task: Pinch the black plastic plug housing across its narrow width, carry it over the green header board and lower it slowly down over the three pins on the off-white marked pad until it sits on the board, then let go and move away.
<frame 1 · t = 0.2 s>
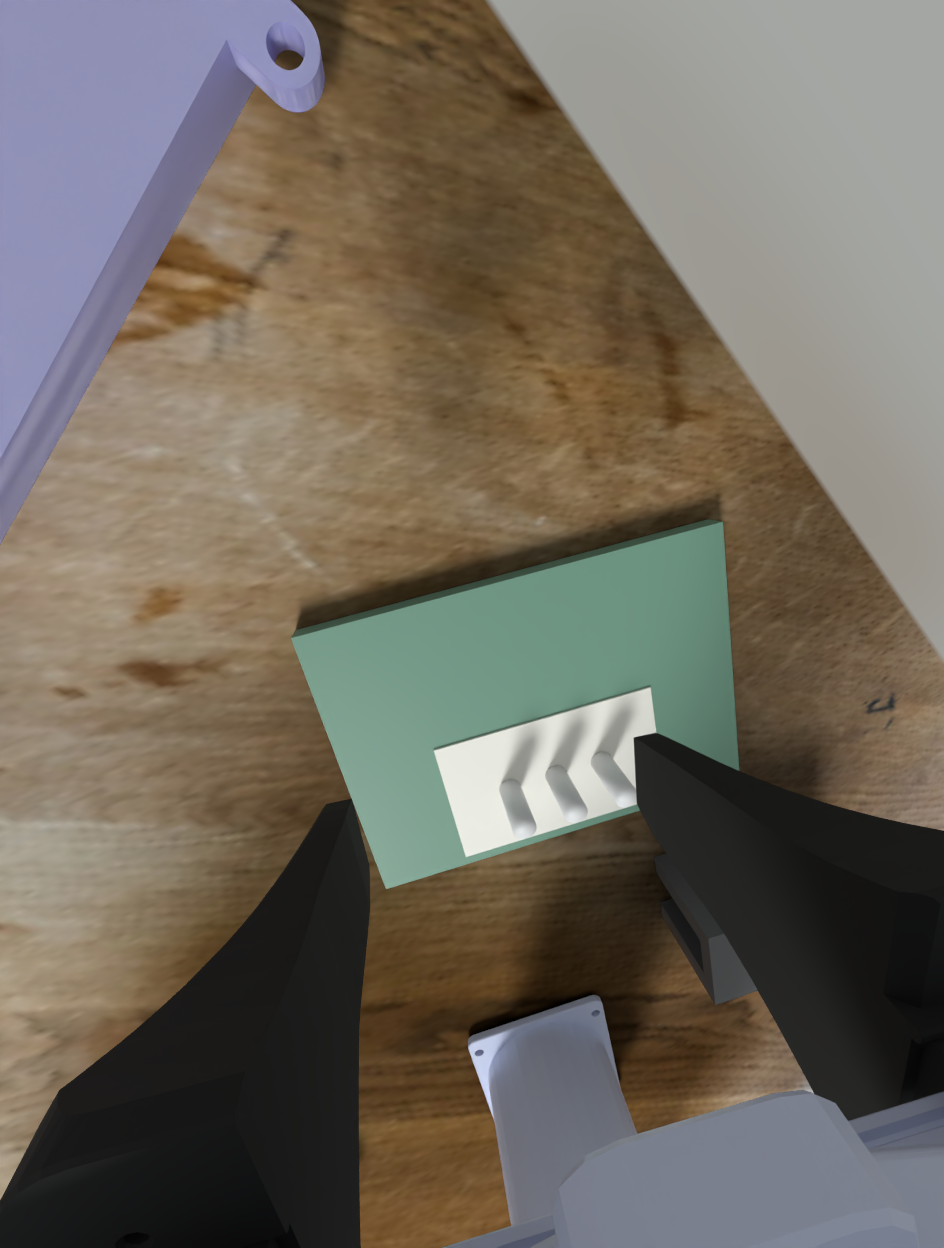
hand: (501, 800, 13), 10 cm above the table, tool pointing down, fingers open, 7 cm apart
header board: (548, 761, 24), on the table
plug housing: (716, 868, 28), on the table
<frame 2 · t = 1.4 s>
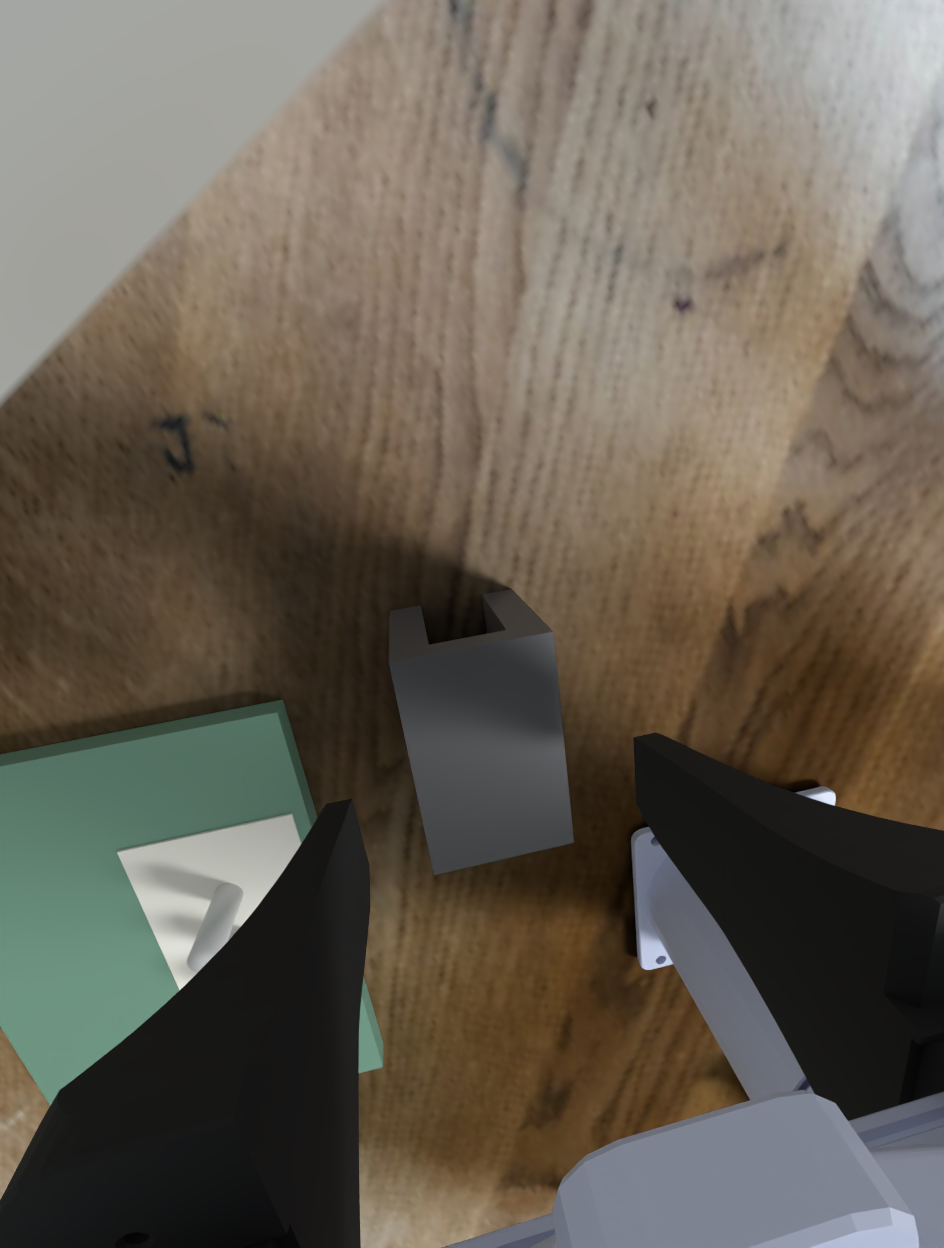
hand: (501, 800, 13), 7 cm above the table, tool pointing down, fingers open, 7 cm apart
header board: (253, 914, 21), on the table
plug housing: (465, 688, 19), on the table
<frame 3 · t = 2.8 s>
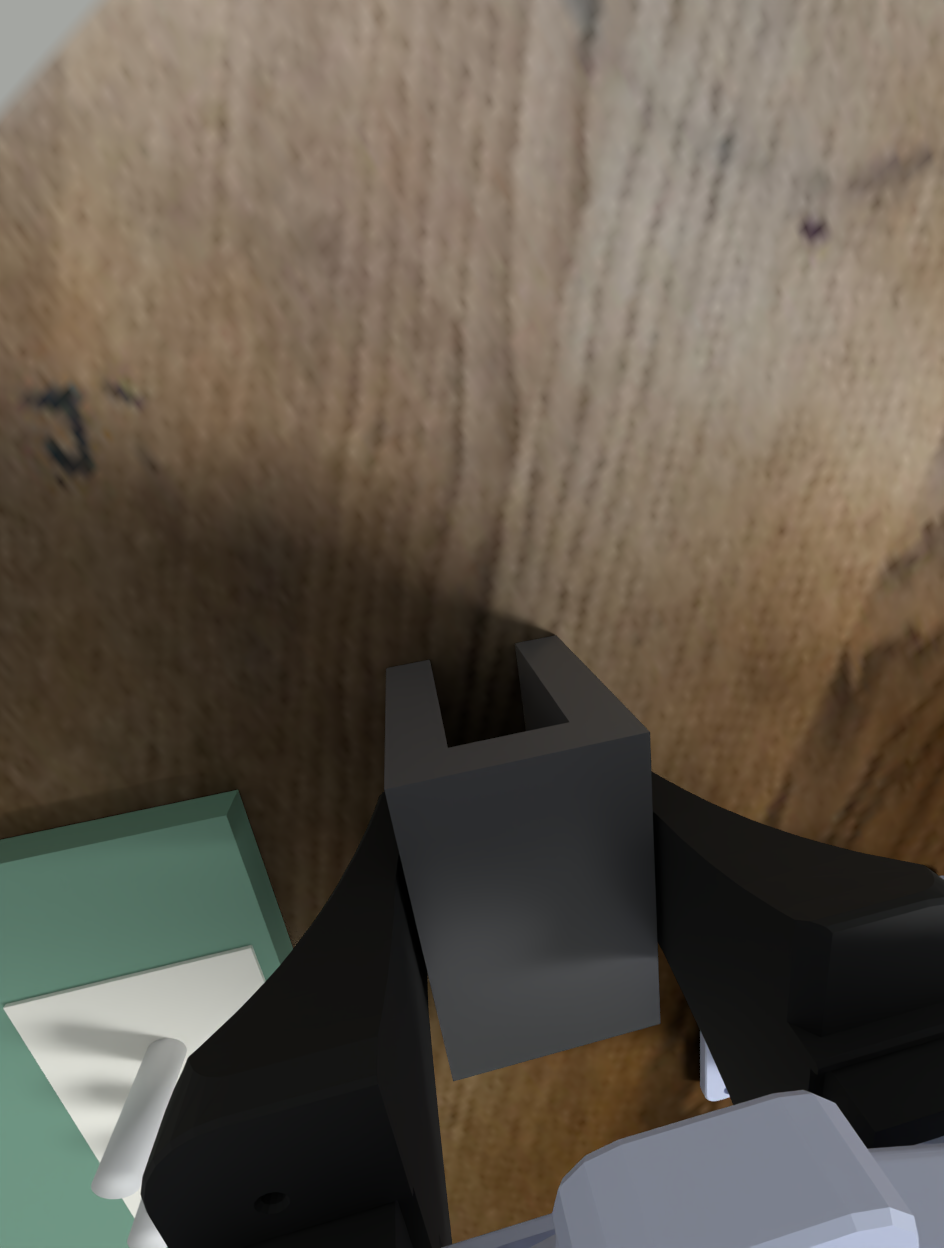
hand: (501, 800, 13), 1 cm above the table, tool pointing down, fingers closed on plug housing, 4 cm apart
header board: (205, 1060, 16), on the table
plug housing: (490, 768, 14), on the table, touching gripper
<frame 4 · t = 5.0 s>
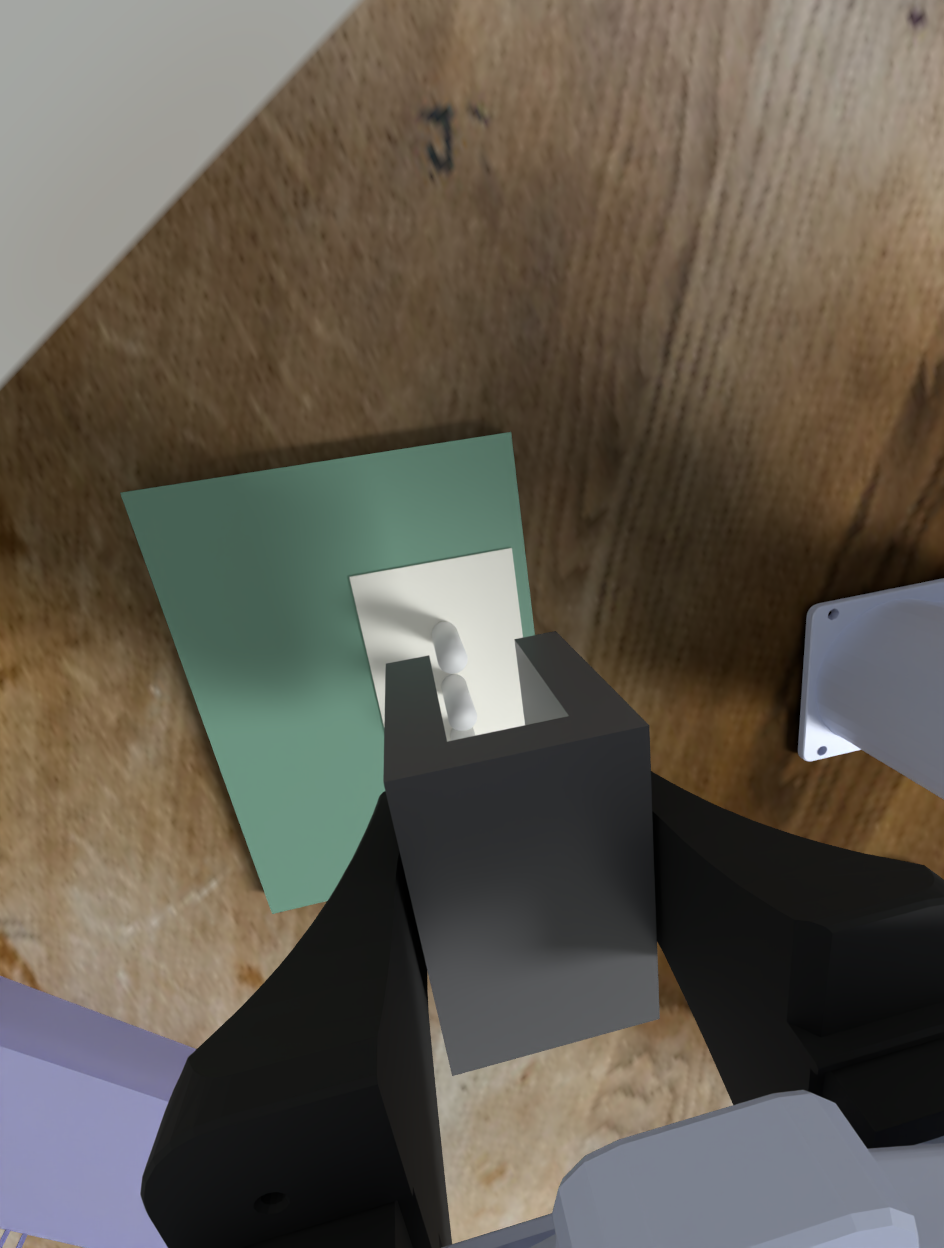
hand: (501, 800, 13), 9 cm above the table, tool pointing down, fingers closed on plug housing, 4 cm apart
header board: (450, 674, 21), on the table
plug housing: (490, 764, 14), point 7 cm above the table, touching gripper
computer part: (78, 1083, 25), on the table
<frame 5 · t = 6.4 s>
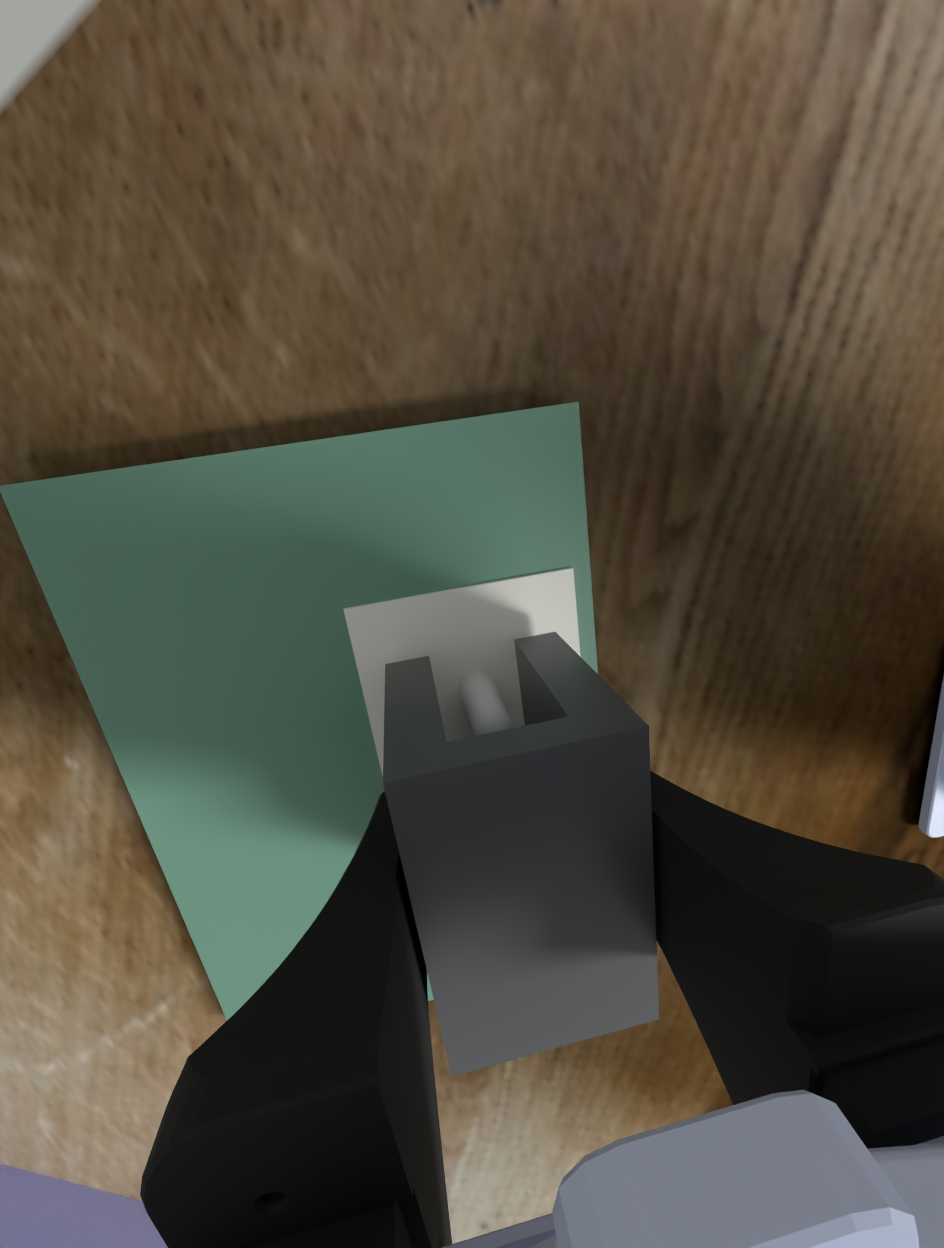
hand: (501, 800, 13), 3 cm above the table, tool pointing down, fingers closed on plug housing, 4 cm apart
header board: (480, 736, 16), on the table
plug housing: (489, 765, 14), point 2 cm above the table, touching gripper
when the fingers open (3 cm above the table, at t = 7.4 s): plug housing stays where it is, resting on header board.
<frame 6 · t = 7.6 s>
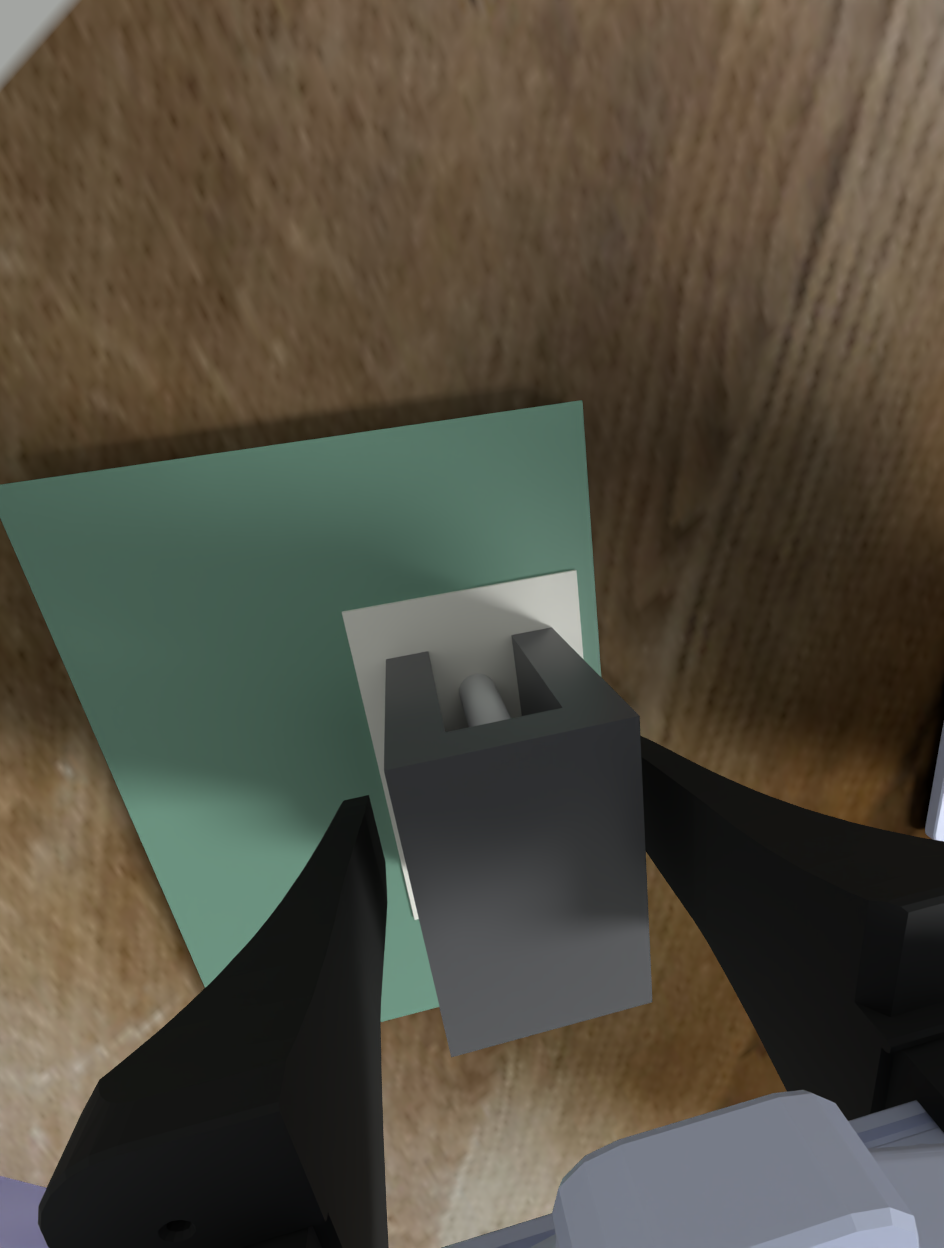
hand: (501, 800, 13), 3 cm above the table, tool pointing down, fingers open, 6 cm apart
header board: (481, 740, 15), on the table
plug housing: (488, 758, 14), point 1 cm above the table, touching header board
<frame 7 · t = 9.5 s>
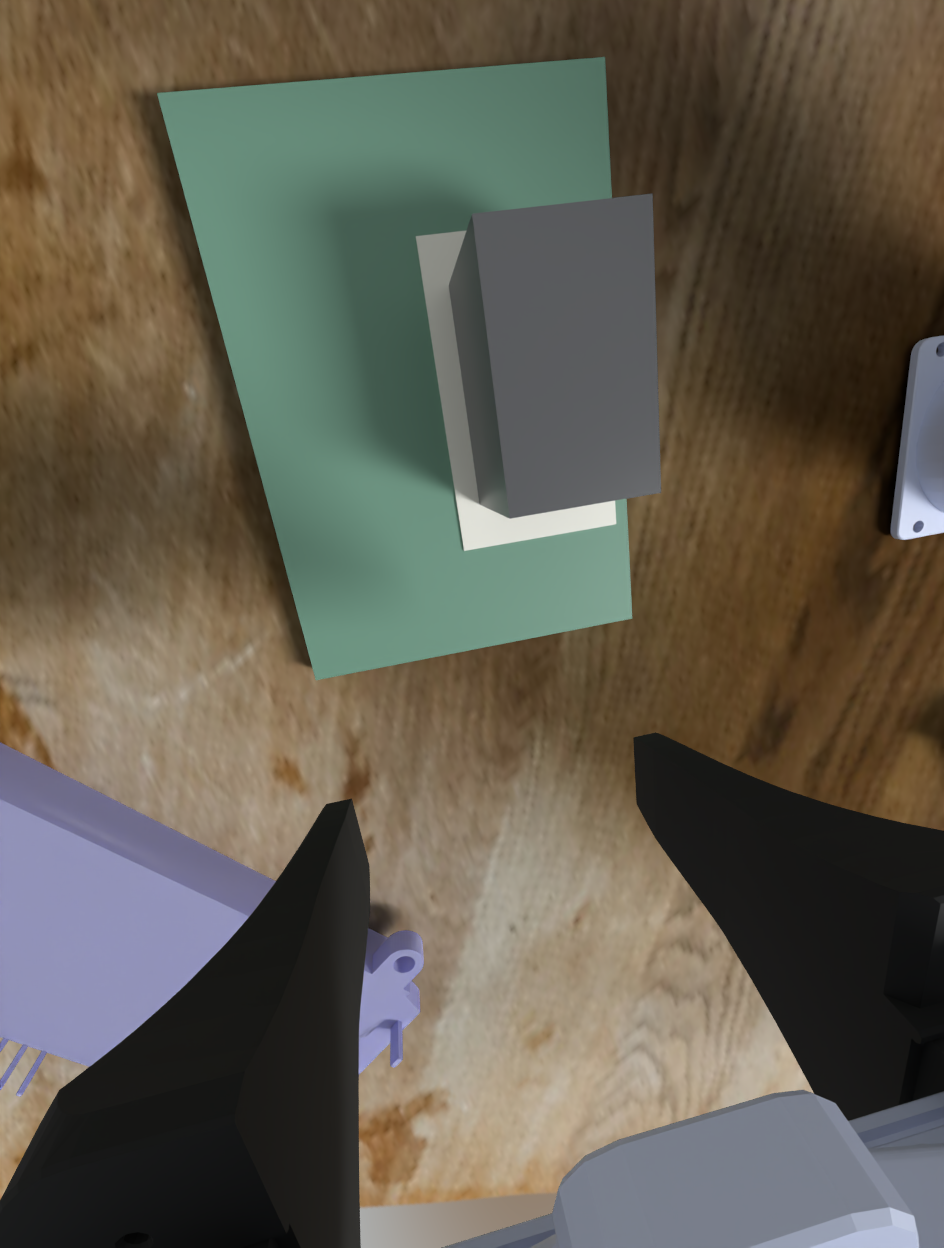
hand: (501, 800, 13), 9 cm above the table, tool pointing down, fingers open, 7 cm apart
header board: (519, 399, 19), on the table
plug housing: (526, 392, 18), point 1 cm above the table, touching header board
computer part: (101, 897, 23), on the table
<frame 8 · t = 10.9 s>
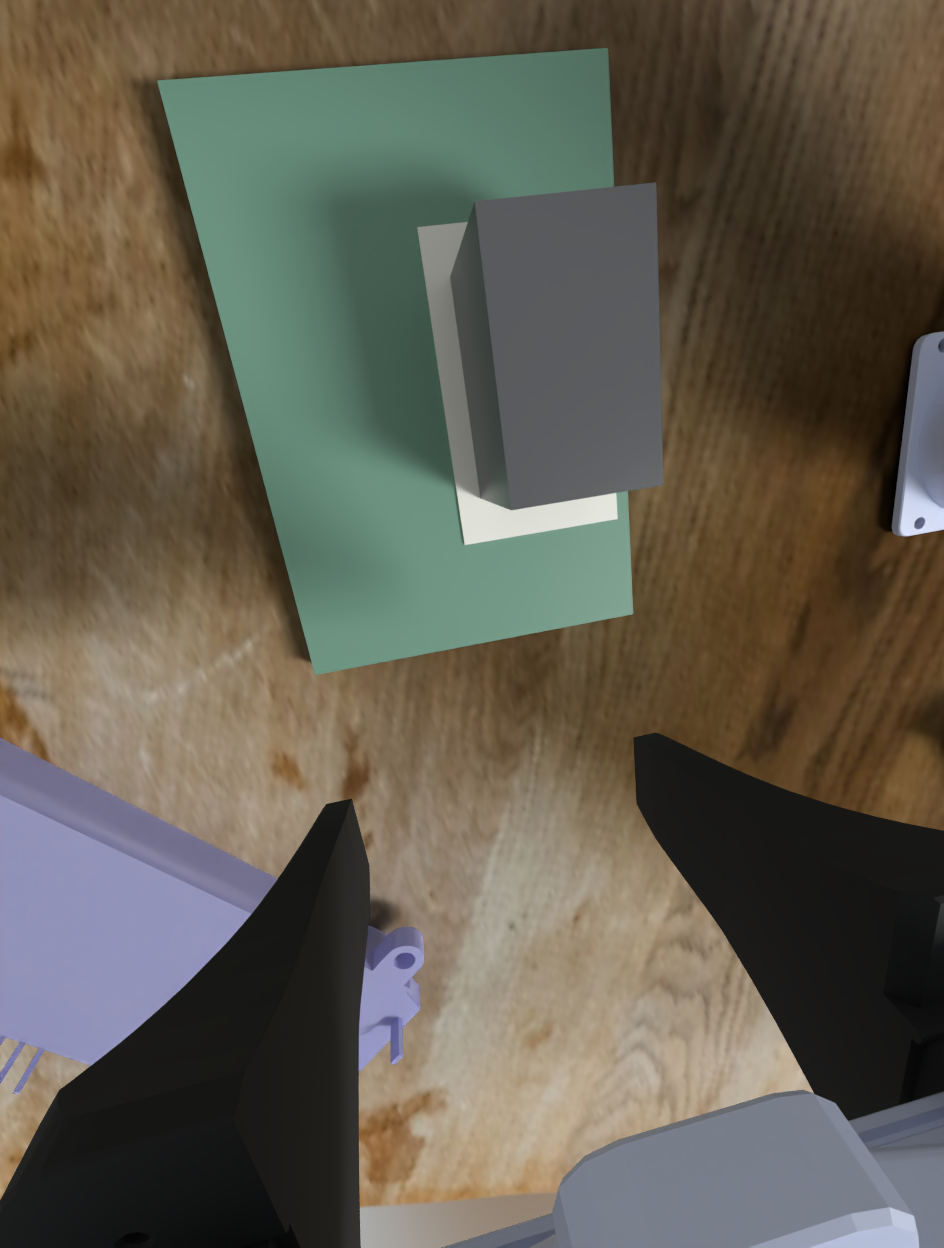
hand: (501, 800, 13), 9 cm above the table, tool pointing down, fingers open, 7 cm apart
header board: (520, 392, 19), on the table
plug housing: (528, 385, 18), point 1 cm above the table, touching header board
computer part: (99, 894, 23), on the table
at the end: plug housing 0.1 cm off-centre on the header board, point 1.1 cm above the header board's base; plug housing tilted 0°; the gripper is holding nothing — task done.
